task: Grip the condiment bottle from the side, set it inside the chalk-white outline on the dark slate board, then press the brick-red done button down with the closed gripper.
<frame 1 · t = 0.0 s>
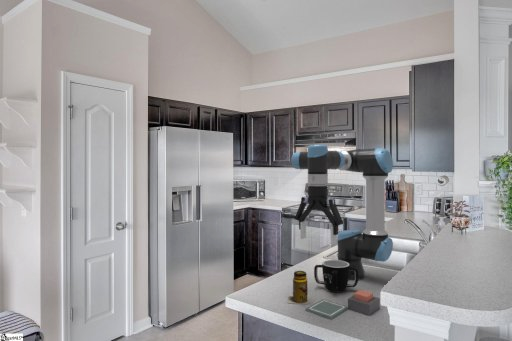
hand: (317, 240, 131), 28 cm above the counter, tool pointing down, fingers open, 13 cm apart
mug: (335, 289, 157), on the counter
button housing: (363, 308, 136), on the counter
done button: (363, 297, 136), point 4 cm above the counter, slide at 0.0 cm
condiment: (298, 300, 145), on the counter
slate board: (326, 309, 135), on the counter
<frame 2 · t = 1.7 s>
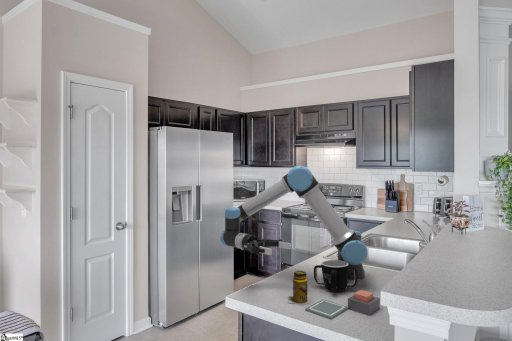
hand: (281, 249, 150), 20 cm above the counter, tool horizontal, fingers open, 13 cm apart
mug: (335, 289, 157), on the counter, touching arm
everything else where it was.
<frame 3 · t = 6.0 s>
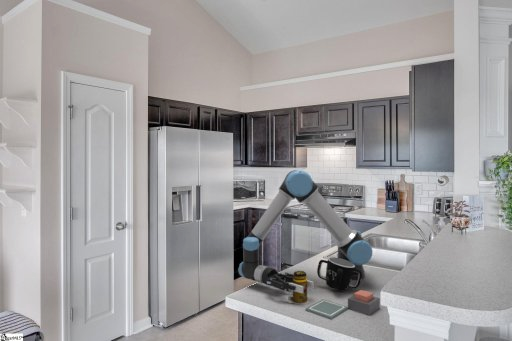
hand: (308, 287, 141), 7 cm above the counter, tool horizontal, fingers open, 6 cm apart
mug: (335, 287, 157), point 1 cm above the counter, touching arm
condiment: (298, 300, 145), on the counter, touching gripper
everything else where it was.
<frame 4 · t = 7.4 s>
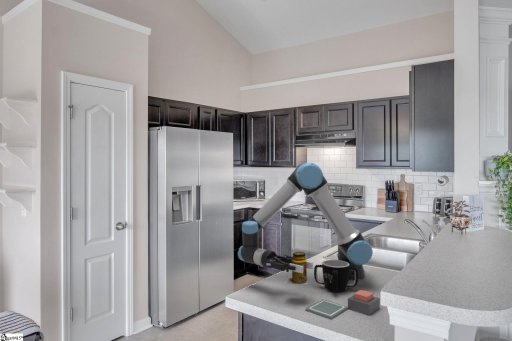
hand: (307, 267, 141), 15 cm above the counter, tool horizontal, fingers closed on condiment, 6 cm apart
mug: (335, 289, 157), on the counter
condiment: (297, 281, 144), point 8 cm above the counter, touching gripper
everything else where it was.
when the fingers open (9 cm above the counter, at t = 10.8 s): condiment drops 1 cm, resting on slate board.
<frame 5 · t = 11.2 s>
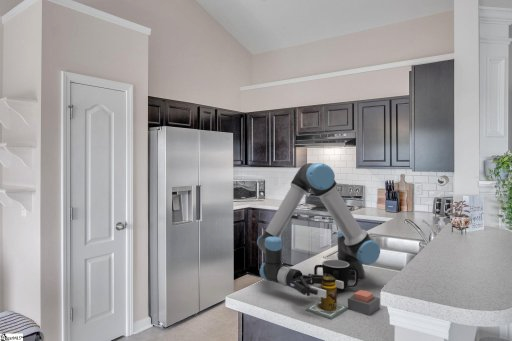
hand: (334, 289, 133), 9 cm above the counter, tool horizontal, fingers open, 12 cm apart
condiment: (326, 308, 135), point 1 cm above the counter, touching slate board
everything else where it was.
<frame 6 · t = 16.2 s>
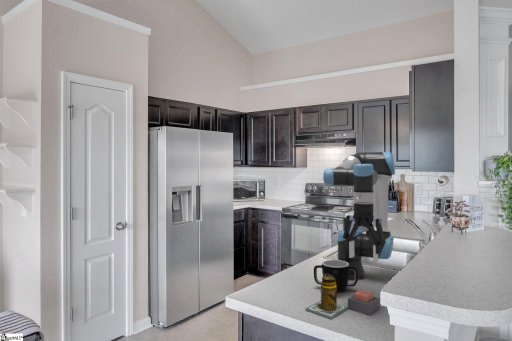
hand: (363, 259, 136), 20 cm above the counter, tool pointing down, fingers open, 9 cm apart
nothing on the counter moved.
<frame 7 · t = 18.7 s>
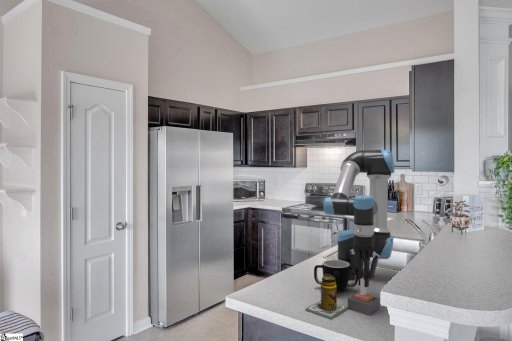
hand: (363, 294, 136), 6 cm above the counter, tool pointing down, fingers closed
done button: (363, 298, 136), point 4 cm above the counter, slide at 0.7 cm, touching gripper
everything else where it was.
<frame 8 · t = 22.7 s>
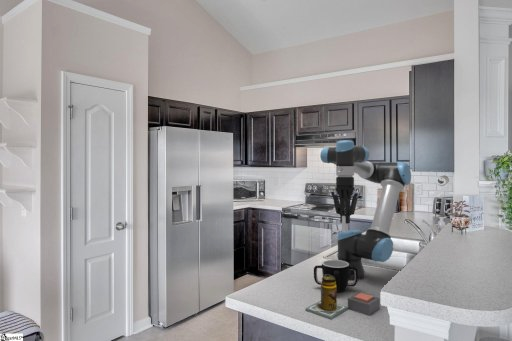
hand: (345, 230, 149), 28 cm above the counter, tool pointing down, fingers closed
done button: (363, 300, 136), point 3 cm above the counter, slide at 1.2 cm
everything else where it was.
at the end: condiment 0.4 cm off-centre on the slate board, point 0.6 cm above the slate board's base; condiment tilted 0°; done button slide at 1.2 cm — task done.
